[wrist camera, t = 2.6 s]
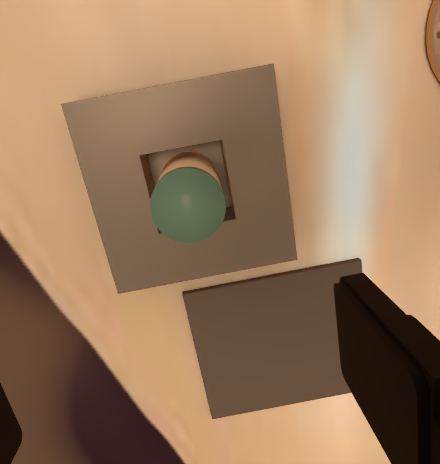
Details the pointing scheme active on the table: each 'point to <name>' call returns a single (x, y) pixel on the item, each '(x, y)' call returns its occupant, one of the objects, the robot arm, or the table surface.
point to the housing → (176, 136)
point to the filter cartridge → (188, 199)
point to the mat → (269, 339)
